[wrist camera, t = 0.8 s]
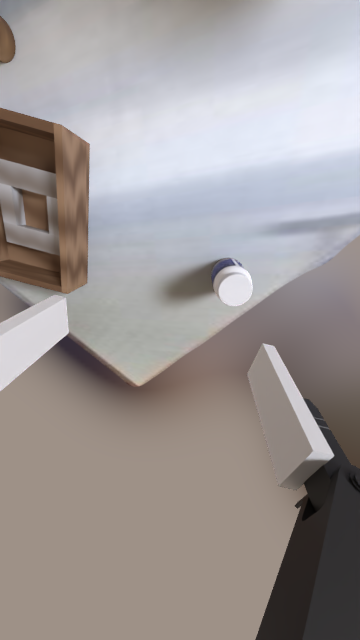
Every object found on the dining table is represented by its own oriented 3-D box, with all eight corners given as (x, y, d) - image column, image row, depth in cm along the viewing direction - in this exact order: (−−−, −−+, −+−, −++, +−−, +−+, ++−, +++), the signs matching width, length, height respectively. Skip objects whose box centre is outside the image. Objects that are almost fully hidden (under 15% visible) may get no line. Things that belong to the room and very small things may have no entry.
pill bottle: (208, 286, 37) (210, 306, 28) (214, 255, 34) (218, 266, 26) (238, 290, 37) (249, 312, 28) (247, 259, 34) (262, 273, 25)
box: (-17, 114, 29) (-72, 87, 23) (89, 144, 29) (61, 125, 23) (8, 262, 39) (-25, 269, 33) (87, 283, 39) (67, 293, 33)
